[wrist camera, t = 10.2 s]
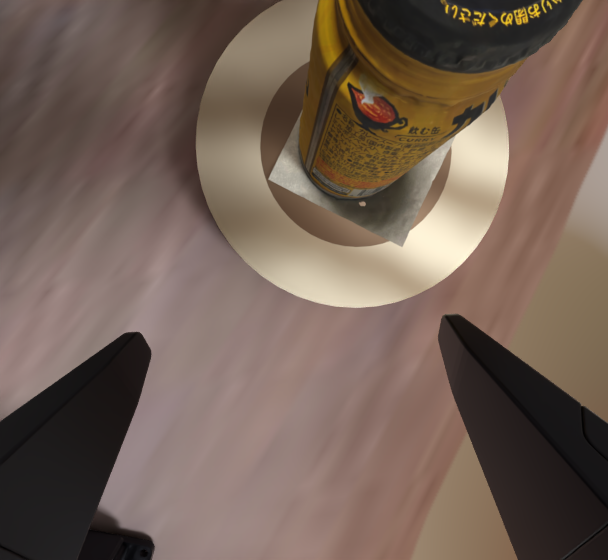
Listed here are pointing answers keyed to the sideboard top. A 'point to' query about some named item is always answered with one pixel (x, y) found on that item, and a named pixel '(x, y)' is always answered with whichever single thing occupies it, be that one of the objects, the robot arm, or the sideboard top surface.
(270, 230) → the ring
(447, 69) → the condiment
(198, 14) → the sideboard top surface
